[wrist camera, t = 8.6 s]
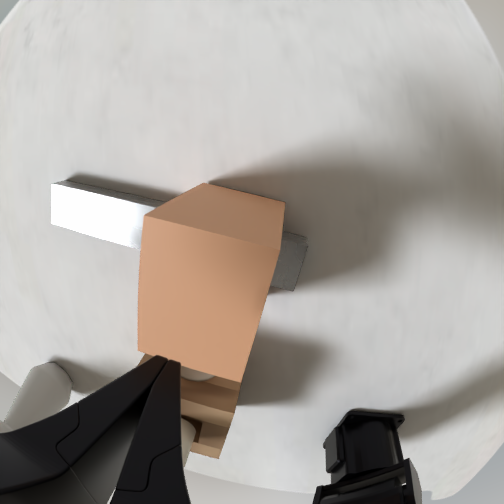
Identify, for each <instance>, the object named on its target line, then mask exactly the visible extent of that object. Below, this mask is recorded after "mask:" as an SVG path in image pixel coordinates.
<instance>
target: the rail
mask: <svg viewBox="0 0 504 504" xmlns="http://www.w3.org/2000/svg"><path fill="white" fill-rule="evenodd" d="M165 203H166V202H162V201H158V200H153V199H149V198H145V197H140V196H136V195H131V194H127V193H122V192H118V191H113V190H109V189H104V188H99V187H95V186H90V185H85V184H80V183H76V182H71V181H66V180H64V181H61V182H57V183H54V184H52V223H53V224H56V225H59V226H63V227H66V228H69V229H72V230H75V231H79V232H82V233H85V234H88V235H92V236H95V237H98V238H101V239H105V240H108V241H111V242H115V243H118V244H122V245H125V246H128V247H132V248H135V249H139V250H141V238H142V227H143V217H144V215H145V214H147V213H148V212H150V211H152V210H154V209H156V208H157V207H159V206H161V205H163V204H165ZM307 247H308V243H307V238H306V237H302V236H299V235H295V234H291V233H287V232H283V231H282V238H281V247H280V253H279V256H278V260H277V263H276V267H275V270H274V274H273V277H272V281H271V284H270V286H274V287H278V288H282V289H286V290H290V291H294V288H295V285H296V282H297V279H298V276H299V273H300V269H301V266H302V263H303V260H304V257H305V254H306V251H307Z"/></svg>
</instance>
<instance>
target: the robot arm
mask: <svg viewBox="0 0 504 504" xmlns="http://www.w3.org/2000/svg"><path fill="white" fill-rule="evenodd" d="M404 420H405V418H404V416H403V415H392V414H378V413H367V412H357V411H350V412H347V413H346V414H345V416H344V417H343V419H342V420H341V421H340V423H339V424H338V425H337V426H336V427H335V428H334V429H333V431H332V432H331V433H330V435H329V436H328V437H327V438H326V440H325V442H324V443H323V448H324V449H326V471H327V473H331V484H329V485H325V486H323V485H321V486H317V489H316V493H315V496H314V500H313V504H422V493H421V492H422V491H421V486H420V482H419V478H418V474H417V471H416V469H415V467H414V466H413V464H412V462H411V460H410V458H407V459H405V460H404V459H403V454H402V450H401V445H400V441H399V436H398V432H397V429H398V427H399V426H400V425H401V424H402V423H403V422H404ZM404 483H406V485H403V486H402V484H404ZM115 487H116V488H115ZM114 489H116V490H115V492H114V494H113V497H112V500H111V502H110V504H191V502H190V498H189V494H188V490H187V486H186V481H185V476H184V470H183V459H182V437H181V363H180V362H178V361H175V360H172V359H168V358H166V357H163V356H160V355H155V356H154V357H152V358H150V359H149V360H147V361H146V362H144V363H142V364H141V365H139V366H137V367H136V368H134V369H132V370H131V371H129V372H127V373H126V374H124V375H123V376H121V377H119V378H118V379H116V380H114V381H112V382H111V383H109V384H107V385H106V386H104V387H102V388H101V389H99V390H97V391H96V392H94V393H92V394H90V395H89V396H87V397H85V398H84V399H82V400H80V401H79V402H78V403H75V404H73V405H71V406H69V407H68V408H66V409H64V410H62V411H60V412H58V413H56V414H54V415H52V416H49V417H47V418H45V419H42V420H40V421H37V422H35V423H32V424H29V425H27V426H24V427H22V428H19V429H16V430H13V431H10V432H4V433H0V504H107V502H108V500H109V498H110V496H111V495H112V493H113V491H114Z"/></svg>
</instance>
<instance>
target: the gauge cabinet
mask: <svg viewBox="0 0 504 504" xmlns="http://www.w3.org/2000/svg"><path fill="white" fill-rule="evenodd" d="M152 357H154V356H152V355H149V354H146V353H145V355H144V356H143V358H142V359H141V361H140V363H139V364H138V366H139V365H141V364H142V363H144V362H146V361H147V360H149V359H150V358H152ZM242 378H243V377H242ZM241 382H242V380H241ZM241 382H237V381H233V380H229V379H226V378H222V377H218V376H215V375H211V374H208V373H204V372H201V371H197V370H194V369H191V368H188V367H184V366H181V418H182V419H184V420H186V421H188V422H189V423H191V424H192V425H193V426H194V428H195V430H196V434H195V437H194V440H193V443H192V446H191V449H190V451H191V452H194V453H198V454H201V455H205V456H209V457H213V458H217V459H219V456H220V453H221V451H222V448H223V445H224V442H225V439H226V436H227V433H228V431H229V428H230V425H231V422H232V419H233V416H234V413H235V408H236V404H237V400H238V395H239V391H240V386H241Z"/></svg>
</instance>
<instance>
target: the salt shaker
mask: <svg viewBox="0 0 504 504" xmlns="http://www.w3.org/2000/svg"><path fill="white" fill-rule="evenodd" d="M72 385H73V383H72V381H71V379H70V377H69V376H68V374H67V372H66V371H65V370H63V369H62V368H61V367H60V366H58V365H57V364H56V363H45V364H42V365H39V366H36V367H34V368H32V369H31V370H30V372H29V374H28V376H27V377H26V379H25V381H24V383H23V385H22V387H21V388H20V390H19V392H18V394H17V396H16V398H15V400H14V402H13V404H12V406H11V408H10V410H9V412H8V414H7V416H6V418H5V420H4V422H2V421H0V433H4V432H10V431H13V430H16V429H19V428H22V427H24V426H27V425H29V424H32V423H35V422H37V421H40V420H42V419H45V418H47V417H49V416H52V415H54V414H56V413H58V412H59V411H60V410H61V409H62V408H64V407H65V406H66V405H67V404H68V402H69V399H70V394H71V390H72Z"/></svg>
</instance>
